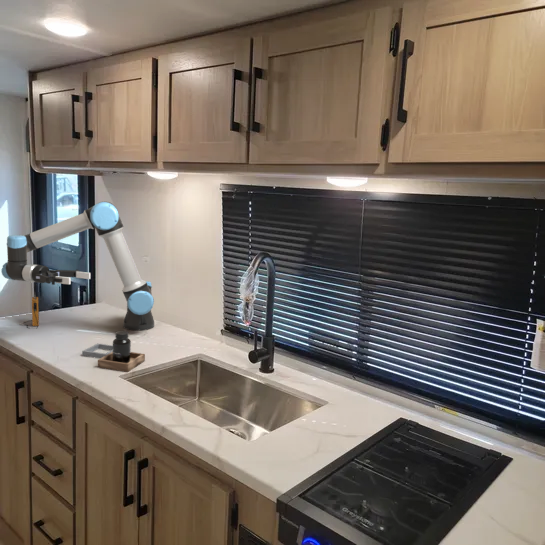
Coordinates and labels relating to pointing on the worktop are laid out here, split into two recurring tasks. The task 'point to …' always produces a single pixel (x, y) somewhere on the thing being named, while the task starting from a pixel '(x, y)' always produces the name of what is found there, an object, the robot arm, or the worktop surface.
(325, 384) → the worktop surface
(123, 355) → the supplement bottle
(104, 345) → the gray square frame
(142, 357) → the walnut tray
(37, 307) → the multimeter
